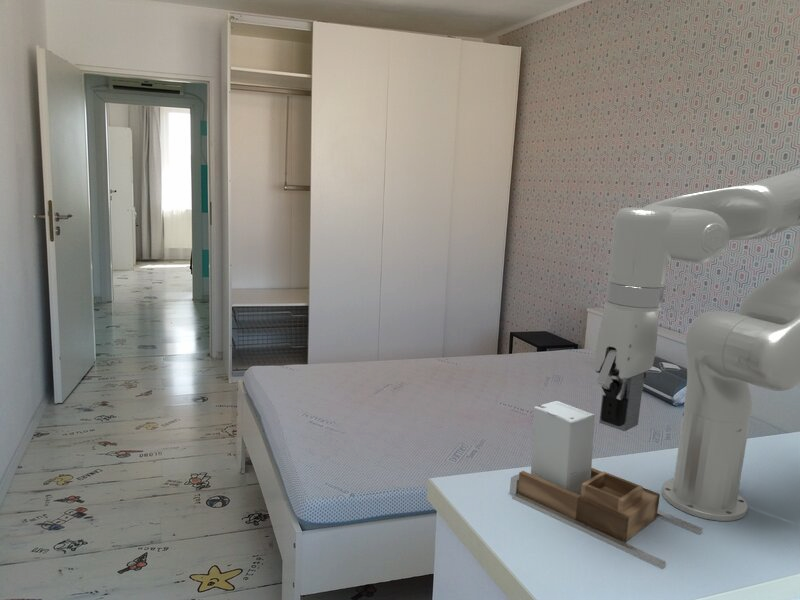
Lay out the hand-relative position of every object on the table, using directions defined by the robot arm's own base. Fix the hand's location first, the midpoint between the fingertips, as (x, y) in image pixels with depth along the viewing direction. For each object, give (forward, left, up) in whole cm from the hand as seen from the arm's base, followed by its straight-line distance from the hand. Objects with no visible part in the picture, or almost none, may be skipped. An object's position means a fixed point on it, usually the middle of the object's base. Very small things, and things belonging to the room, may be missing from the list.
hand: (619, 418), depth 93 cm
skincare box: (-2, -10, -17) cm, 20 cm away
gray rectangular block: (0, 0, -1) cm, 1 cm away
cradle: (-2, -5, -17) cm, 17 cm away
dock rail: (-2, -2, -17) cm, 17 cm away
